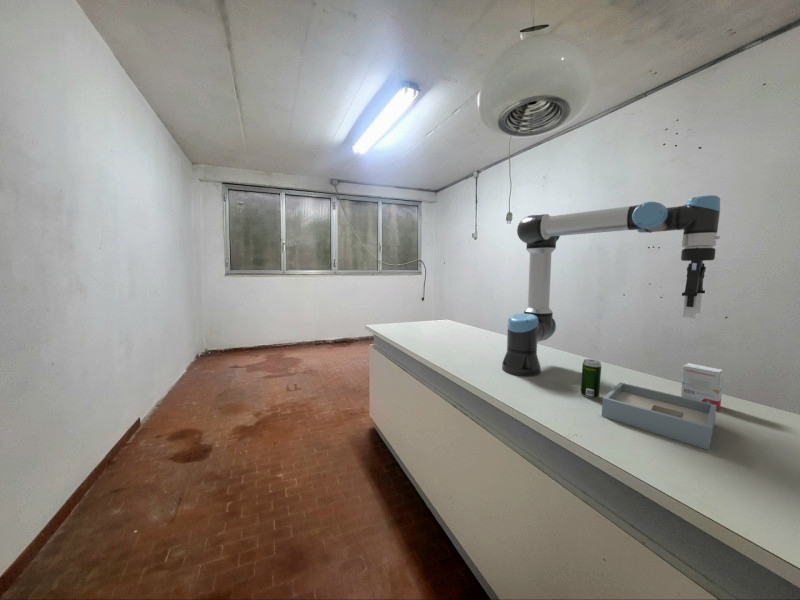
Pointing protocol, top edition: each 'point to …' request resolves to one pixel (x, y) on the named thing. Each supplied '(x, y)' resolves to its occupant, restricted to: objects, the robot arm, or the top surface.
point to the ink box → (702, 383)
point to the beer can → (591, 378)
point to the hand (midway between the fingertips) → (691, 315)
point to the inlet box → (661, 413)
